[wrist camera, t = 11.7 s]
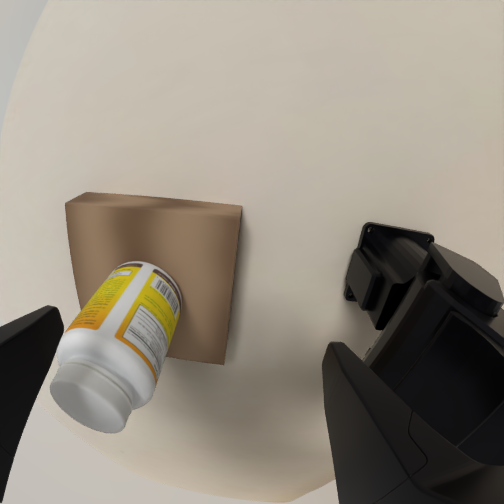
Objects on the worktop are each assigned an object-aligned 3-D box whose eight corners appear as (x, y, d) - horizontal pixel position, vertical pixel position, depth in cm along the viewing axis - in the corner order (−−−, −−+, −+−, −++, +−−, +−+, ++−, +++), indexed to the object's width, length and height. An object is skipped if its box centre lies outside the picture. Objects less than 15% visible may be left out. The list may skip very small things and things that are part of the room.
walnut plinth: (241, 206, 20) (239, 219, 17) (227, 340, 25) (224, 365, 22) (86, 192, 19) (65, 203, 17) (101, 319, 24) (88, 339, 22)
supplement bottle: (105, 305, 20) (39, 407, 11) (120, 244, 18) (29, 345, 9) (171, 336, 21) (132, 453, 12) (196, 279, 19) (152, 410, 10)
